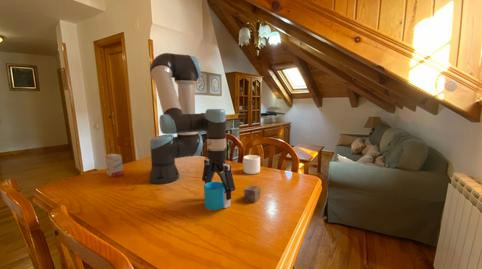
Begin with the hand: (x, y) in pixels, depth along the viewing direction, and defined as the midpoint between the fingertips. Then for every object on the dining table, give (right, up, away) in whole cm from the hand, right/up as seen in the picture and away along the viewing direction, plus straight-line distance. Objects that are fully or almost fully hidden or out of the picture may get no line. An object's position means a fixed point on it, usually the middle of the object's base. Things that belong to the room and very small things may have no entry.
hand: (218, 202), depth 84 cm
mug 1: (0, -1, 0) cm, 0 cm away
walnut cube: (+14, 0, +3) cm, 14 cm away
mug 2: (+16, +5, +38) cm, 42 cm away
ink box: (-62, +4, +34) cm, 71 cm away
